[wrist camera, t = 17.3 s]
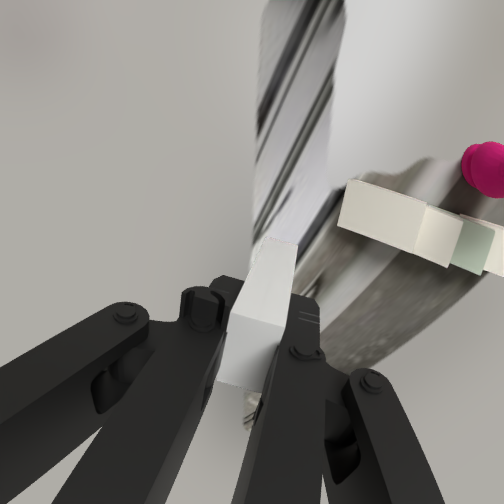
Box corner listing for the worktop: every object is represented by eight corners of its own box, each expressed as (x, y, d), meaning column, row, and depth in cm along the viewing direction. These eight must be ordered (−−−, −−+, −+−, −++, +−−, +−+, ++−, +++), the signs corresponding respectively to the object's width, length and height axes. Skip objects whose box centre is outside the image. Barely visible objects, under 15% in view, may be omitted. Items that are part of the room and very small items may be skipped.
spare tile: (427, 205, 34) (495, 231, 28) (429, 204, 36) (493, 229, 30) (415, 249, 36) (480, 275, 31) (417, 245, 38) (479, 270, 33)
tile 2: (389, 194, 34) (463, 221, 29) (393, 193, 36) (462, 219, 31) (377, 239, 37) (447, 268, 32) (381, 236, 39) (447, 263, 33)
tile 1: (348, 178, 35) (426, 204, 30) (353, 178, 37) (427, 202, 32) (337, 225, 37) (411, 253, 32) (343, 223, 39) (413, 249, 34)
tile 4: (460, 215, 33) (522, 237, 28) (459, 213, 35) (519, 234, 29) (449, 257, 35) (509, 279, 30) (449, 253, 37) (507, 274, 31)
